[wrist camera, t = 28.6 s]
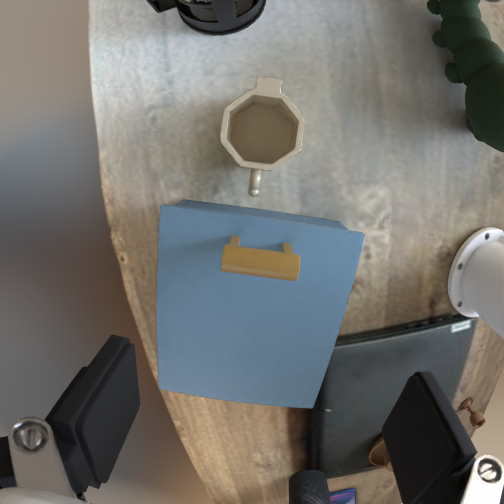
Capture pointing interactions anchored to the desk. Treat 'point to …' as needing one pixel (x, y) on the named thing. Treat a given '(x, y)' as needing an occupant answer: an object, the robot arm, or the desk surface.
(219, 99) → the desk surface
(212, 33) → the french press
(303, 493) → the travel mug
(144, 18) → the desk surface
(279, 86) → the jug
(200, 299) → the lid
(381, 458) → the place setting
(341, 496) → the smartphone
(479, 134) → the toy figurine
